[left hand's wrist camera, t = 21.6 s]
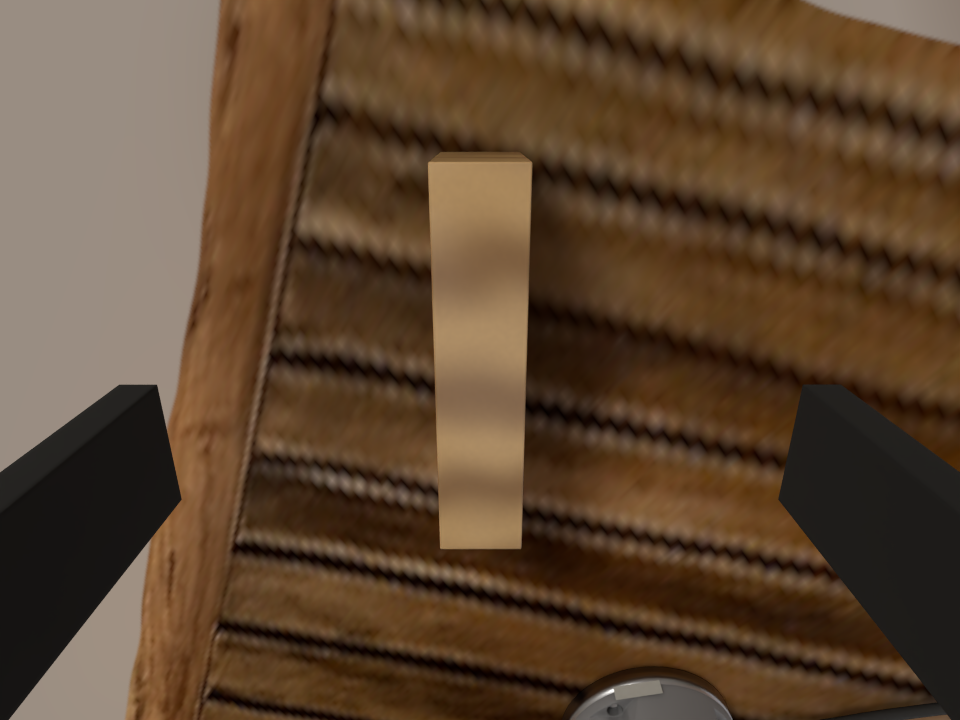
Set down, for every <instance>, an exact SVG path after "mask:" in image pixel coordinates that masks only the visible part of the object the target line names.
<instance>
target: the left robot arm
mask: <svg viewBox="0 0 960 720" xmlns="http://www.w3.org/2000/svg"><path fill="white" fill-rule="evenodd" d="M181 500H182V499H181V494H180V490H179V485H178V480H177V476H176V471H175V466H174V462H173V457H172V452H171V448H170V443H169V438H168V434H167V429H166V424H165V420H164V415H163V410H162V406H161V401H160V396H159V392H158V387H157V385H118V386H117V387H116V388H114V389H113V390H112V391H110V392H109V393H108V394H106V395H105V396H103V397H102V398H101V399H99V400H98V401H97V402H95V403H94V404H93V405H91V406H90V407H88V408H87V409H86V410H84V411H83V412H82V413H80V414H79V415H78V416H76V417H75V418H74V419H72V420H71V421H69V422H68V423H67V424H65V425H64V426H63V427H61V428H60V429H59V430H57V431H56V432H54V433H53V434H52V435H51V436H49V437H48V438H46V439H45V440H44V441H42V442H41V443H40V444H38V445H37V446H35V447H34V448H33V449H31V450H30V451H29V452H27V453H26V454H25V455H23V456H22V457H21V458H19V459H18V460H16V461H15V462H14V463H12V464H11V465H10V466H8V467H7V468H6V469H4V470H3V471H2V472H0V720H9V719H10V717H11V716H12V715H13V714H14V712H15V711H16V710H17V708H18V707H19V706H20V705H21V703H22V702H23V701H24V700H25V698H26V697H27V696H28V694H29V693H30V692H31V691H32V689H33V688H34V687H35V685H36V684H37V683H38V682H39V680H40V679H41V678H42V677H43V675H44V674H45V673H46V671H47V670H48V669H49V668H50V666H51V665H52V664H53V663H54V661H55V660H56V659H57V658H58V656H59V655H60V654H61V652H62V651H63V650H64V649H65V647H66V646H67V645H68V643H69V642H70V641H71V640H72V638H73V637H74V636H75V635H76V633H77V632H78V631H79V629H80V628H81V627H82V626H83V624H84V623H85V622H86V621H87V619H88V618H89V617H90V615H91V614H92V613H93V612H94V610H95V609H96V608H97V606H98V605H99V604H100V603H101V601H102V600H103V599H104V598H105V596H106V595H107V594H108V592H109V591H110V590H111V589H112V587H113V586H114V585H115V584H116V582H117V581H118V580H119V579H120V577H121V576H122V575H123V573H124V572H125V571H126V570H127V568H128V567H129V566H130V565H131V563H132V562H133V561H134V559H135V558H136V557H137V556H138V554H139V553H140V552H141V550H142V549H143V548H144V547H145V545H146V544H147V543H148V542H149V540H150V539H151V538H152V537H153V535H154V534H155V533H156V531H157V530H158V529H159V528H160V526H161V525H162V524H163V522H164V521H165V520H166V519H167V517H168V516H169V515H170V514H171V512H172V511H173V510H174V508H175V507H176V506H177V505H178V503H179V502H180V501H181ZM778 500H779V501H780V502H781V503H782V505H783V506H784V507H785V508H786V510H787V511H788V512H789V514H790V515H791V516H792V517H793V519H794V520H795V521H796V522H797V524H798V525H799V526H800V528H801V529H802V530H803V531H804V533H805V534H806V535H807V537H808V538H809V539H810V540H811V542H812V543H813V544H814V545H815V547H816V548H817V549H818V551H819V552H820V553H821V554H822V556H823V557H824V558H825V559H826V561H827V562H828V563H829V565H830V566H831V567H832V568H833V570H834V571H835V572H836V573H837V575H838V576H839V577H840V579H841V580H842V581H843V582H844V584H845V585H846V586H847V587H848V589H849V590H850V591H851V593H852V594H853V595H854V596H855V598H856V599H857V600H858V601H859V603H860V604H861V605H862V607H863V608H864V609H865V610H866V612H867V613H868V614H869V615H870V617H871V618H872V619H873V621H874V622H875V623H876V624H877V626H878V627H879V628H880V629H881V631H882V632H883V633H884V635H885V636H886V637H887V638H888V640H889V641H890V642H891V644H892V645H893V646H894V647H895V649H896V650H897V651H898V652H899V654H900V655H901V656H902V658H903V659H904V660H905V661H906V663H907V664H908V665H909V666H910V668H911V669H912V670H913V672H914V673H915V674H916V675H917V677H918V678H919V679H920V680H921V682H922V683H923V684H924V686H925V687H926V688H927V689H928V691H929V692H930V693H931V694H932V696H933V697H934V698H935V700H936V701H937V702H938V703H931V704H923V705H915V706H907V707H899V708H892V709H884V710H878V711H871V712H865V713H859V714H853V715H847V716H841V717H835V718H828V719H822V720H906V719H914V718H921V717H929V716H938V715H948V716H949V717H950V719H951V720H960V472H958V471H957V470H956V469H954V468H953V467H952V466H950V465H949V464H948V463H946V462H945V461H944V460H942V459H941V458H939V457H938V456H937V455H935V454H934V453H933V452H931V451H930V450H929V449H927V448H926V447H925V446H923V445H922V444H920V443H919V442H918V441H916V440H915V439H914V438H912V437H911V436H910V435H908V434H907V433H906V432H904V431H903V430H901V429H900V428H899V427H897V426H896V425H895V424H893V423H892V422H891V421H889V420H888V419H886V418H885V417H884V416H882V415H881V414H880V413H878V412H877V411H876V410H874V409H873V408H872V407H870V406H869V405H867V404H866V403H865V402H863V401H862V400H861V399H859V398H858V397H857V396H855V395H854V394H853V393H851V392H850V391H848V390H847V389H846V388H844V387H843V386H842V385H803V387H802V392H801V396H800V401H799V406H798V410H797V415H796V420H795V424H794V429H793V434H792V438H791V443H790V448H789V452H788V457H787V462H786V466H785V471H784V476H783V480H782V485H781V490H780V494H779V499H778ZM562 720H733V719H732V717H731V715H730V712H729V710H728V707H727V705H726V703H725V701H724V699H723V697H722V696H721V694H720V693H719V692H718V691H717V690H716V689H715V688H714V687H713V686H712V685H711V684H709V683H708V682H707V681H705V680H703V679H702V678H700V677H698V676H696V675H694V674H691V673H689V672H686V671H682V670H678V669H673V668H666V667H640V668H633V669H627V670H623V671H619V672H616V673H613V674H610V675H608V676H606V677H603V678H601V679H599V680H597V681H596V682H594V683H592V684H591V685H589V686H588V687H586V688H585V689H584V690H582V691H581V692H580V693H579V694H578V695H577V696H576V697H575V698H574V699H573V700H572V702H571V703H570V704H569V706H568V707H567V709H566V711H565V713H564V715H563V718H562Z"/></svg>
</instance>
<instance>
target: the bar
mask: <svg viewBox="0 0 960 720" xmlns="http://www.w3.org/2000/svg"><path fill="white" fill-rule="evenodd" d="M428 181H429V212H430V243H431V274H432V306H433V337H434V368H435V399H436V431H437V462H438V493H439V524H440V548H441V549H521V546H522V511H523V476H524V441H525V405H526V370H527V335H528V299H529V264H530V229H531V194H532V162H531V161H530V160H529V159H527V158H526V157H525V156H524V155H523V154H521V153H520V152H440V153H439V154H438V155H437V156H436V157H434V158H433V159H432V160H431V161H429V162H428Z"/></svg>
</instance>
